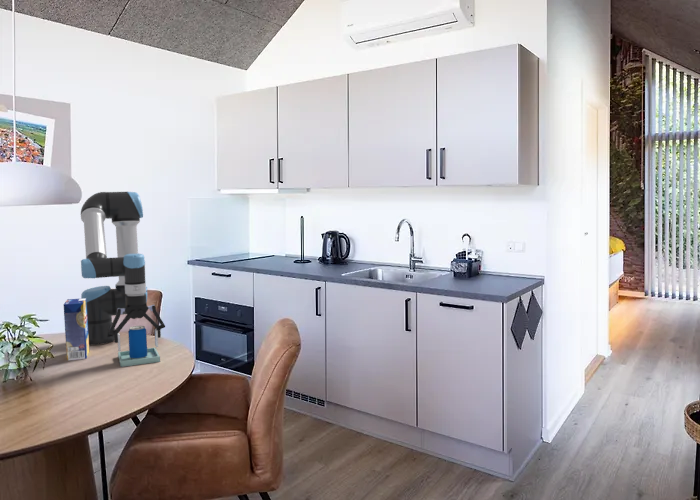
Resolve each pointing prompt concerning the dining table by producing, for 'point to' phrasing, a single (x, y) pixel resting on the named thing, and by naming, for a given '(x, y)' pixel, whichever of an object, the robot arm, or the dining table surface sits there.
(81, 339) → the beverage box
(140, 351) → the beverage can
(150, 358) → the tray
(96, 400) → the dining table surface
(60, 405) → the dining table surface
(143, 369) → the dining table surface
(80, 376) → the dining table surface
